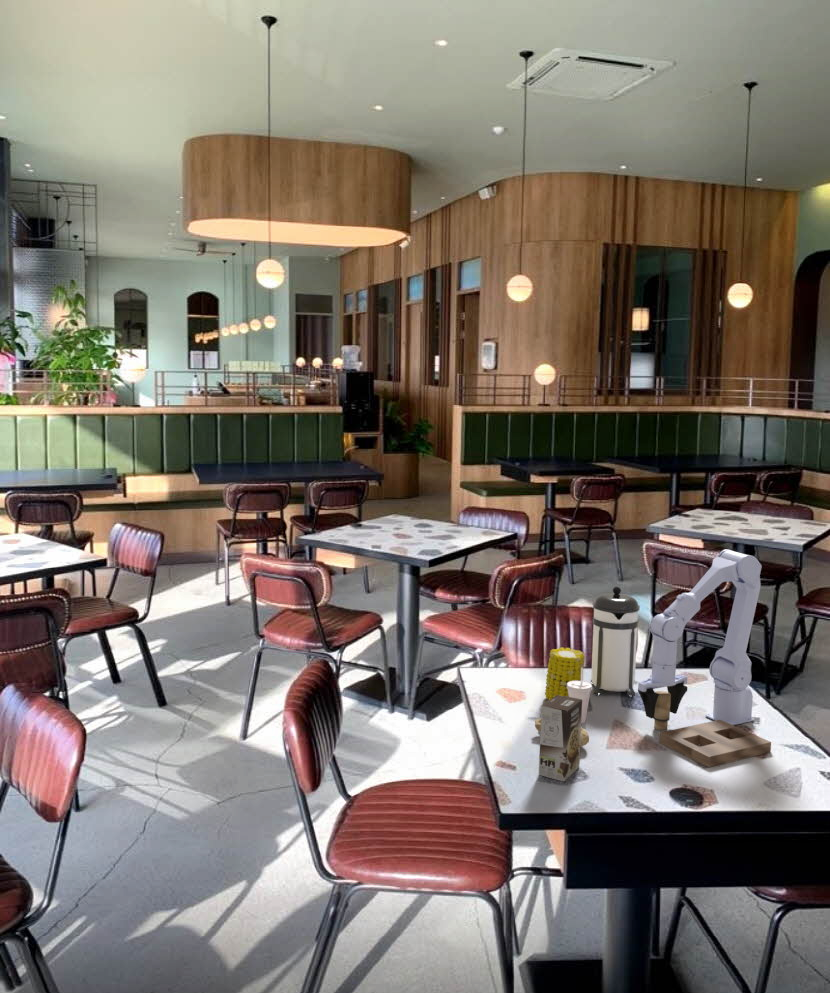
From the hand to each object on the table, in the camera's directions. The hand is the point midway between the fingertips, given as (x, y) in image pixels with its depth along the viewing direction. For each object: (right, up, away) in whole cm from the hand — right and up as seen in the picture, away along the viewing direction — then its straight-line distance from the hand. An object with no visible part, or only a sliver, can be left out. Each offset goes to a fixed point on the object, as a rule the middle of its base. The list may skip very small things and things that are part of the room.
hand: (661, 714), depth 230 cm
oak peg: (0, -4, 0) cm, 3 cm away
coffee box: (-30, -7, -26) cm, 40 cm away
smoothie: (-20, -3, +5) cm, 21 cm away
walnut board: (+10, -5, -11) cm, 16 cm away
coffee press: (-6, 0, +30) cm, 30 cm away
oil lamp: (-27, -5, -10) cm, 29 cm away
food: (-21, -1, +20) cm, 29 cm away
